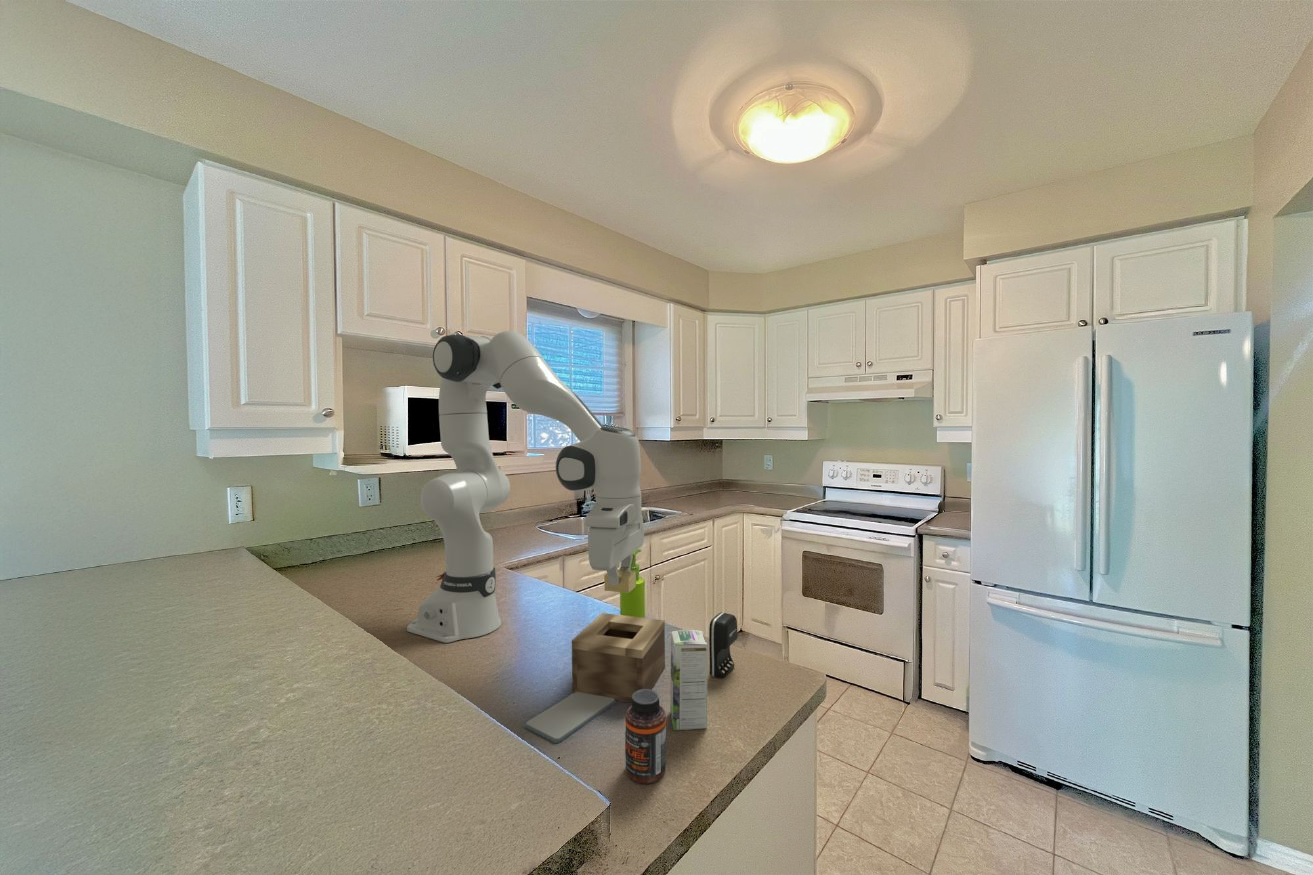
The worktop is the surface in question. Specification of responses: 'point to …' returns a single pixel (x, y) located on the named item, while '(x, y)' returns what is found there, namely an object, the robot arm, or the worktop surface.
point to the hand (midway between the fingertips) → (620, 580)
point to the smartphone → (568, 715)
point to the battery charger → (721, 644)
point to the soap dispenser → (634, 594)
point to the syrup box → (688, 679)
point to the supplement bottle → (645, 737)
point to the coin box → (618, 656)
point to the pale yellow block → (622, 582)
